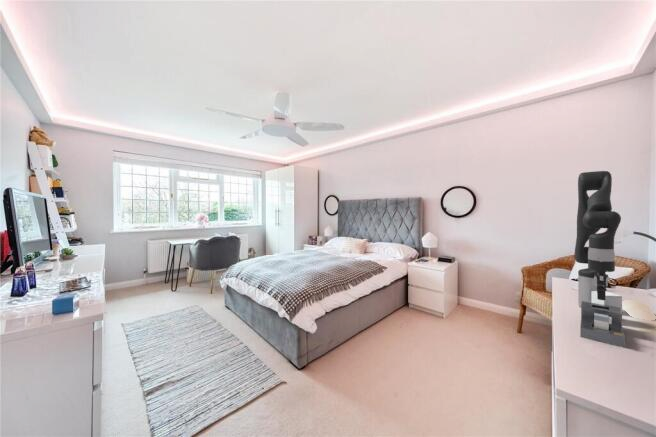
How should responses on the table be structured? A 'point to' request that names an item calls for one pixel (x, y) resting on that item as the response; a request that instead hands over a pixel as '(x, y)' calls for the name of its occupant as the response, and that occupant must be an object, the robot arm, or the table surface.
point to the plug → (602, 321)
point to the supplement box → (608, 299)
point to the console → (598, 334)
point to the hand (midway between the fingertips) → (601, 297)
